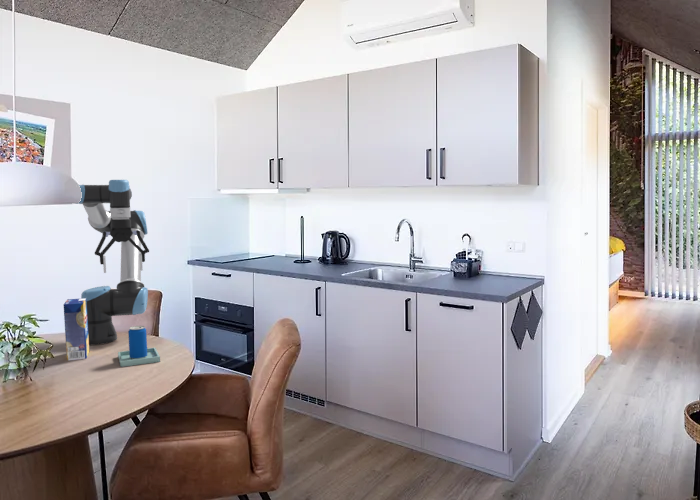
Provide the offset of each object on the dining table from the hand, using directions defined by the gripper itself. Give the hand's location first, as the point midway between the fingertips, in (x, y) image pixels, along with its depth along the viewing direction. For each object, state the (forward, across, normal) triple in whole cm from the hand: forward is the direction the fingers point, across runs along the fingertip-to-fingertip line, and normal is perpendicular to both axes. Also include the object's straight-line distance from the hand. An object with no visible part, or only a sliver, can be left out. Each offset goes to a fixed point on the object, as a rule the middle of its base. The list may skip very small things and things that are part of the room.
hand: (123, 271), depth 226 cm
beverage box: (+33, -18, +1) cm, 38 cm away
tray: (+33, +3, -15) cm, 36 cm away
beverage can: (+32, +3, -15) cm, 36 cm away
